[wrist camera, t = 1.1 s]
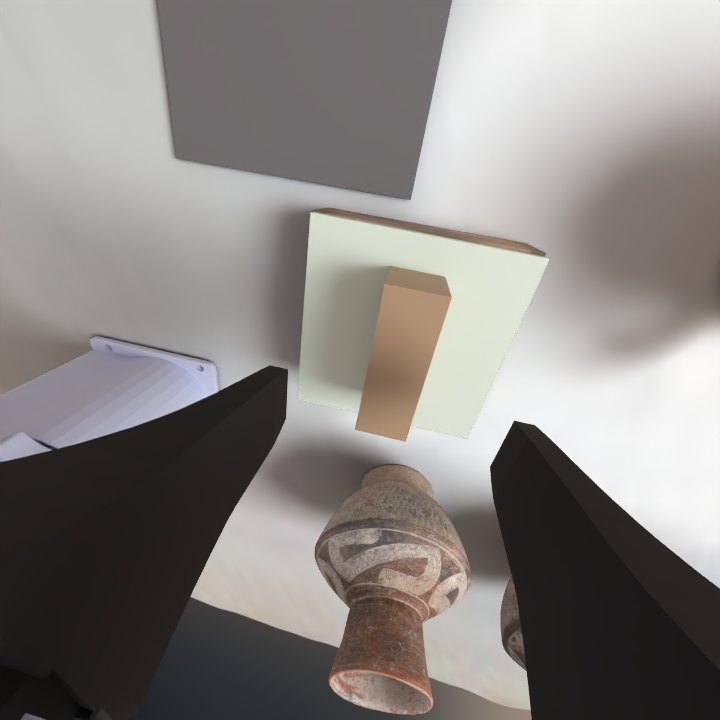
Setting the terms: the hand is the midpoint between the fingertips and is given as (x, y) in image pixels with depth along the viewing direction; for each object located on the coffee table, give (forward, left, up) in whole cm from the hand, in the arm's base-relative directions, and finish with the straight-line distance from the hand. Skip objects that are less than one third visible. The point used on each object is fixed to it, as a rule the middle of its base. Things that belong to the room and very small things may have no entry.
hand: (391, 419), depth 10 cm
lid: (0, 0, -7) cm, 7 cm away
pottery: (+10, -16, -10) cm, 21 cm away
